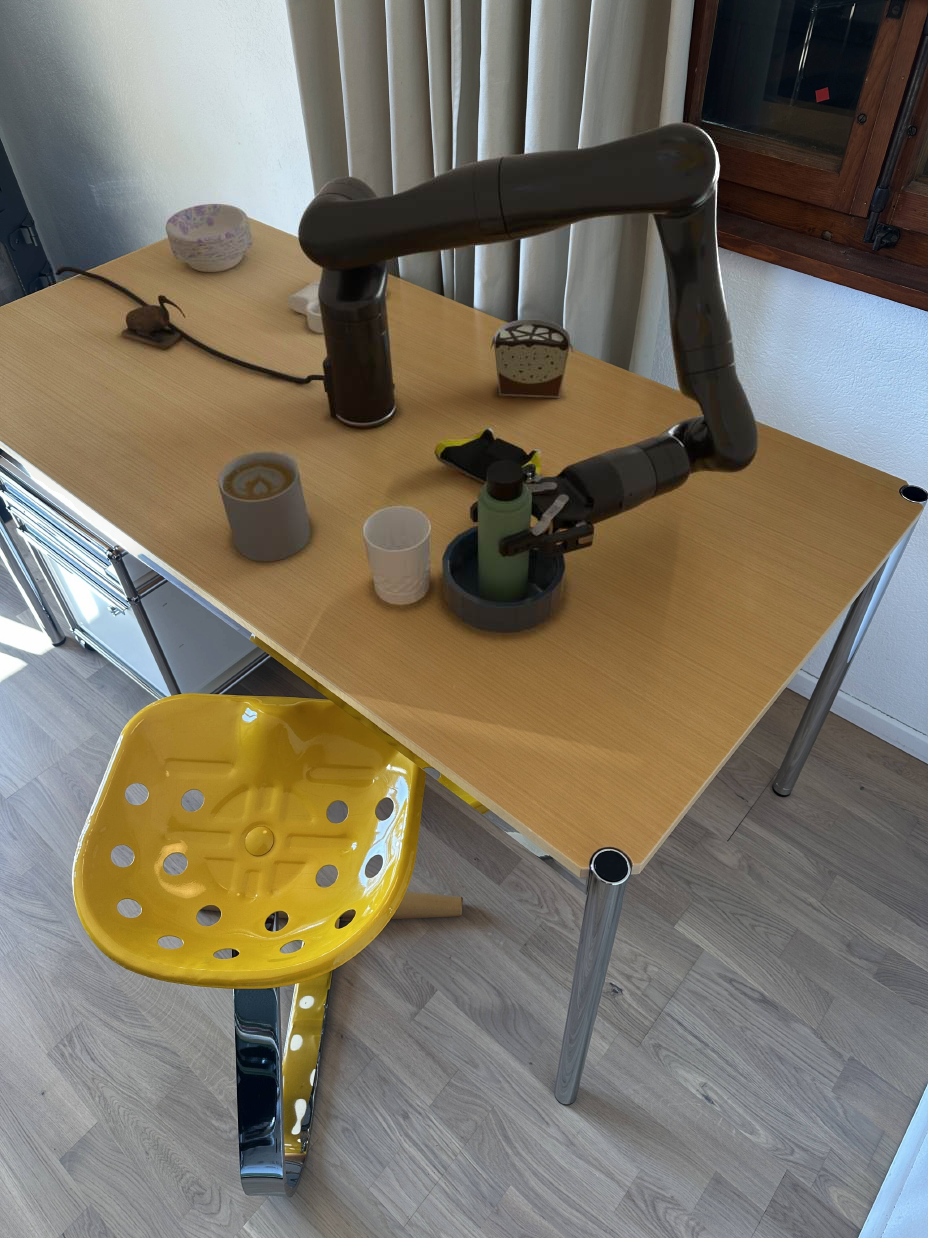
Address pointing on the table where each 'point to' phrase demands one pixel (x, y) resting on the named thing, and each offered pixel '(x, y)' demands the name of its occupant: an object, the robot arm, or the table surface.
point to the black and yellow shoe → (482, 454)
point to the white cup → (399, 553)
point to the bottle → (502, 532)
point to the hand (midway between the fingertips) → (486, 531)
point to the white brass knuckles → (308, 305)
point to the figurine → (152, 325)
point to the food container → (531, 358)
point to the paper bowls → (209, 236)
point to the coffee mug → (265, 505)
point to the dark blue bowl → (495, 615)
